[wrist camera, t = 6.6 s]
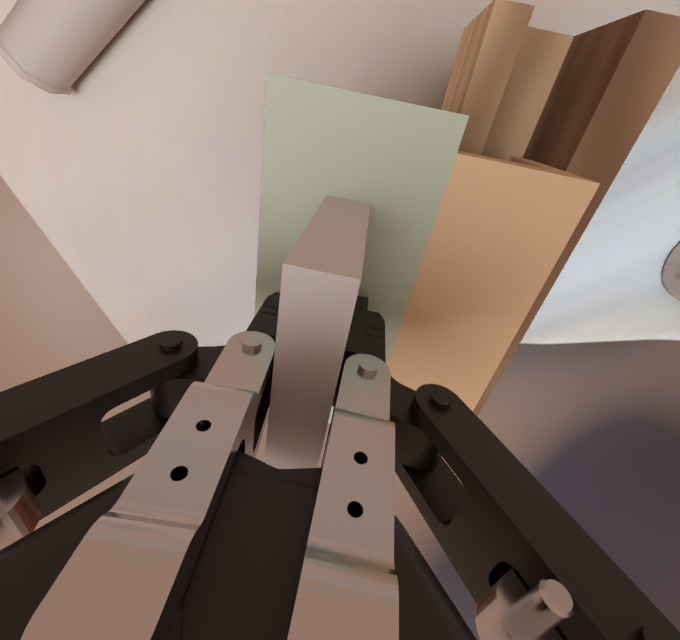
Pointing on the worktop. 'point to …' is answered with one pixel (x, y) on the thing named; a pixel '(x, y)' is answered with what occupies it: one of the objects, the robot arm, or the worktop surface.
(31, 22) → the tube
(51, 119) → the worktop surface
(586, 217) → the wall board
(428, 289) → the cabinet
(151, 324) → the worktop surface
